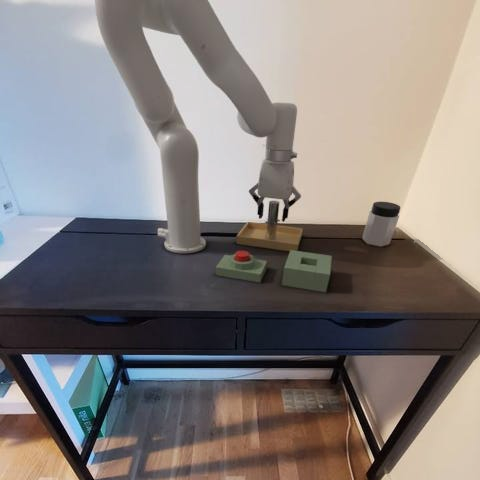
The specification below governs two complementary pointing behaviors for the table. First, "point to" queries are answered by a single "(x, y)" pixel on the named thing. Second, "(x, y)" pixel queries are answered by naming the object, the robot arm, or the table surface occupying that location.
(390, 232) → the jar
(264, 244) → the tray
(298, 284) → the green slotted base
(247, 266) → the stop block
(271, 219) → the grey peg
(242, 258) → the stop button
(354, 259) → the table surface
